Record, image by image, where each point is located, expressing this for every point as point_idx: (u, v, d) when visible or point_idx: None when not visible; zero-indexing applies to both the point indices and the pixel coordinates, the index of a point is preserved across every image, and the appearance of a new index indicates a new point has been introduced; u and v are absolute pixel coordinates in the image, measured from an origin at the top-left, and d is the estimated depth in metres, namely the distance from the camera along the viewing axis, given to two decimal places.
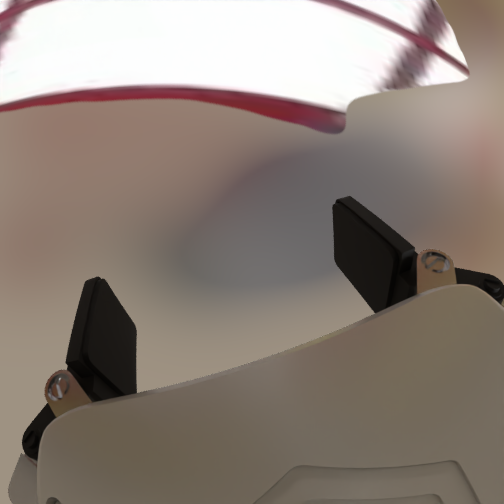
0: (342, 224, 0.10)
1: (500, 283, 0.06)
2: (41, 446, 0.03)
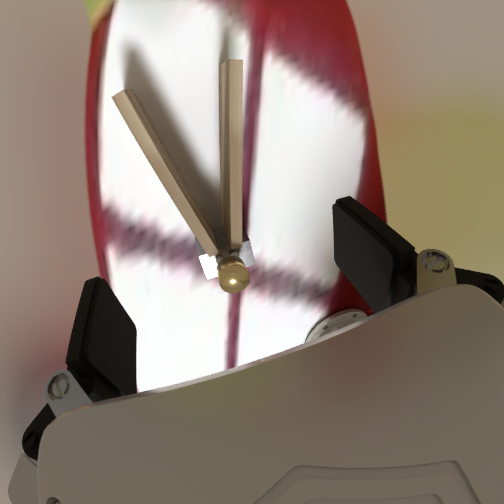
0: (342, 224, 0.10)
1: (500, 283, 0.06)
2: (41, 446, 0.03)
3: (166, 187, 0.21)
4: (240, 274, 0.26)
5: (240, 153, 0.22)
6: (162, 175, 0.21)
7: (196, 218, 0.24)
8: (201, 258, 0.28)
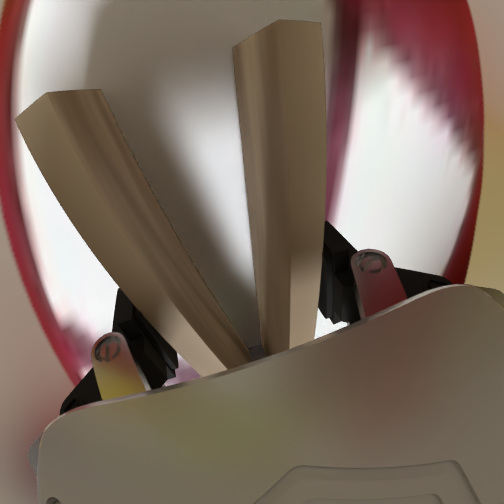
0: None
1: (449, 285, 0.07)
2: (41, 446, 0.03)
3: (184, 354, 0.09)
4: None
5: (315, 290, 0.09)
6: (174, 335, 0.08)
7: None
8: None
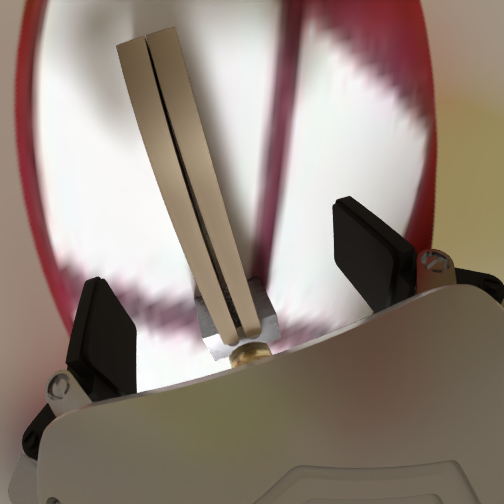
0: (342, 224, 0.10)
1: (500, 283, 0.06)
2: (41, 446, 0.03)
3: (183, 244, 0.12)
4: None
5: (222, 210, 0.12)
6: (181, 222, 0.11)
7: (221, 296, 0.14)
8: (206, 341, 0.18)
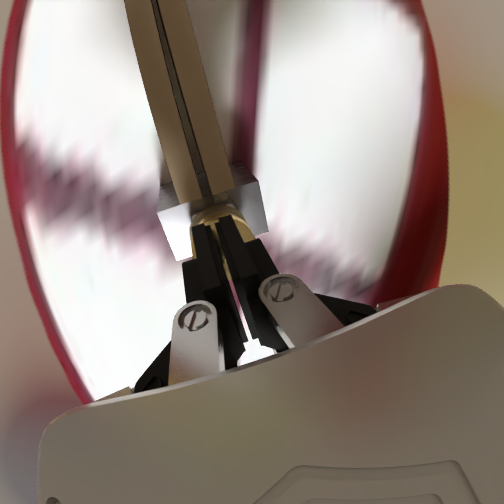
0: None
1: None
2: (41, 446, 0.03)
3: (133, 30, 0.07)
4: None
5: None
6: (135, 8, 0.07)
7: (173, 106, 0.10)
8: (163, 218, 0.14)
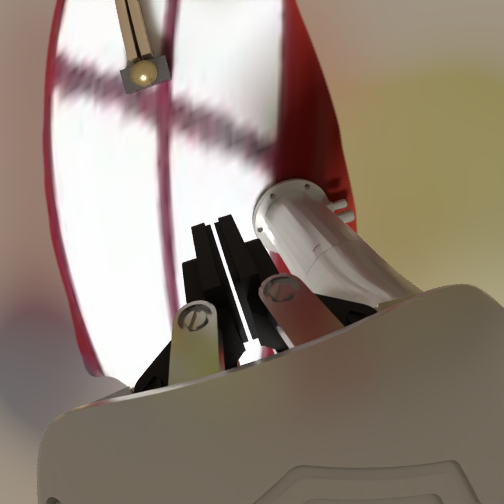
0: None
1: None
2: (41, 446, 0.03)
3: (116, 1, 0.17)
4: (147, 66, 0.22)
5: None
6: None
7: (128, 25, 0.20)
8: (122, 73, 0.24)
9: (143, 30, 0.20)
